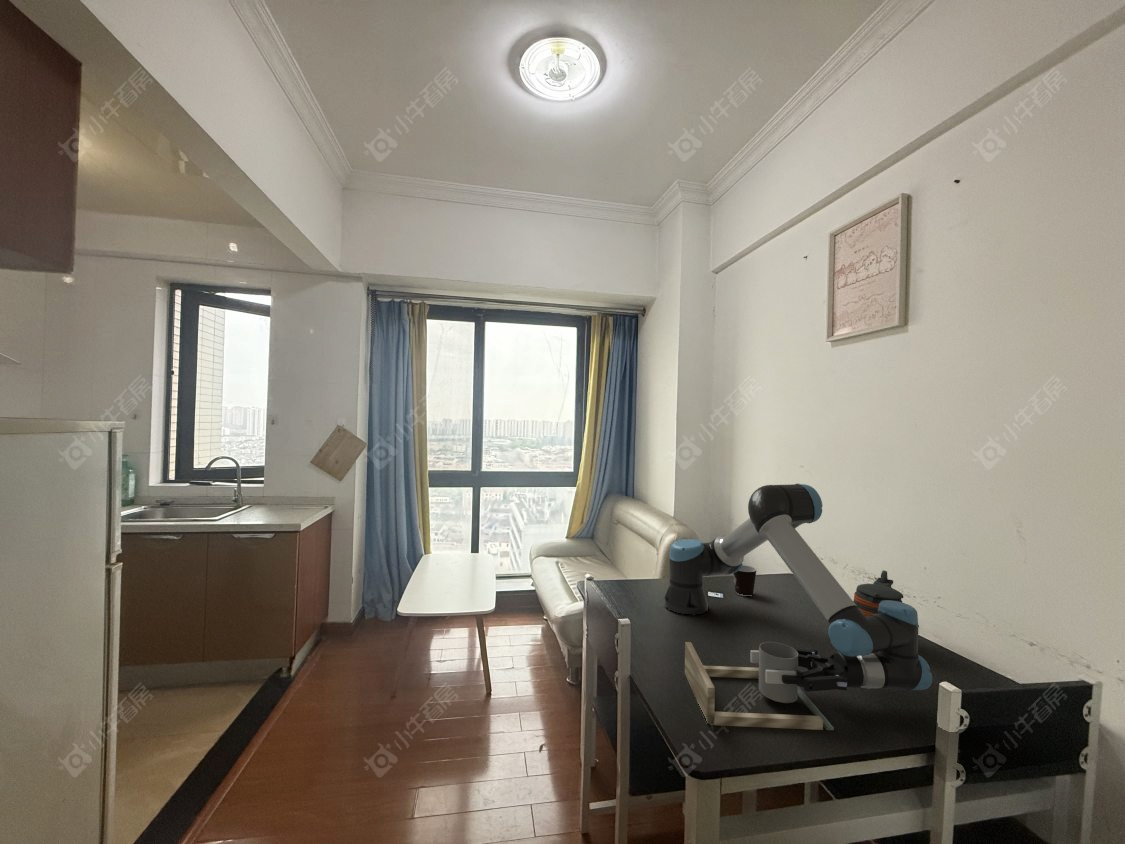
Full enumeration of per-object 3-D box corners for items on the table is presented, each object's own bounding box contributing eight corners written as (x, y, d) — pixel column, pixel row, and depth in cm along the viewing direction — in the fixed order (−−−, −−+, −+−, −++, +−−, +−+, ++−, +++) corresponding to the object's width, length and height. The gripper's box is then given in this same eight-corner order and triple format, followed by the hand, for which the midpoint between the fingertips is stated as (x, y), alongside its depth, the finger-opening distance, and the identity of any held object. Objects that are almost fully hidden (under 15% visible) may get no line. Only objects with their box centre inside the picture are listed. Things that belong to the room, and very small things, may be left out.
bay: (707, 724, 98) (707, 687, 98) (684, 672, 119) (685, 641, 119) (833, 730, 97) (834, 692, 97) (788, 676, 118) (788, 645, 118)
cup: (795, 686, 110) (795, 645, 111) (800, 706, 103) (801, 661, 103) (757, 679, 113) (757, 639, 113) (760, 698, 105) (760, 654, 106)
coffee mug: (754, 599, 171) (754, 573, 172) (730, 595, 176) (730, 569, 176) (759, 590, 181) (759, 565, 181) (736, 586, 186) (736, 561, 186)
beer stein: (854, 624, 152) (855, 563, 152) (909, 637, 142) (910, 573, 142) (845, 644, 137) (846, 577, 137) (906, 660, 128) (907, 589, 128)
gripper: (885, 713, 97) (777, 709, 97) (830, 662, 118) (742, 659, 119) (886, 678, 97) (777, 674, 98) (830, 633, 118) (742, 630, 119)
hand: (758, 666), depth 108 cm, fingers closed on cup, 8 cm apart
